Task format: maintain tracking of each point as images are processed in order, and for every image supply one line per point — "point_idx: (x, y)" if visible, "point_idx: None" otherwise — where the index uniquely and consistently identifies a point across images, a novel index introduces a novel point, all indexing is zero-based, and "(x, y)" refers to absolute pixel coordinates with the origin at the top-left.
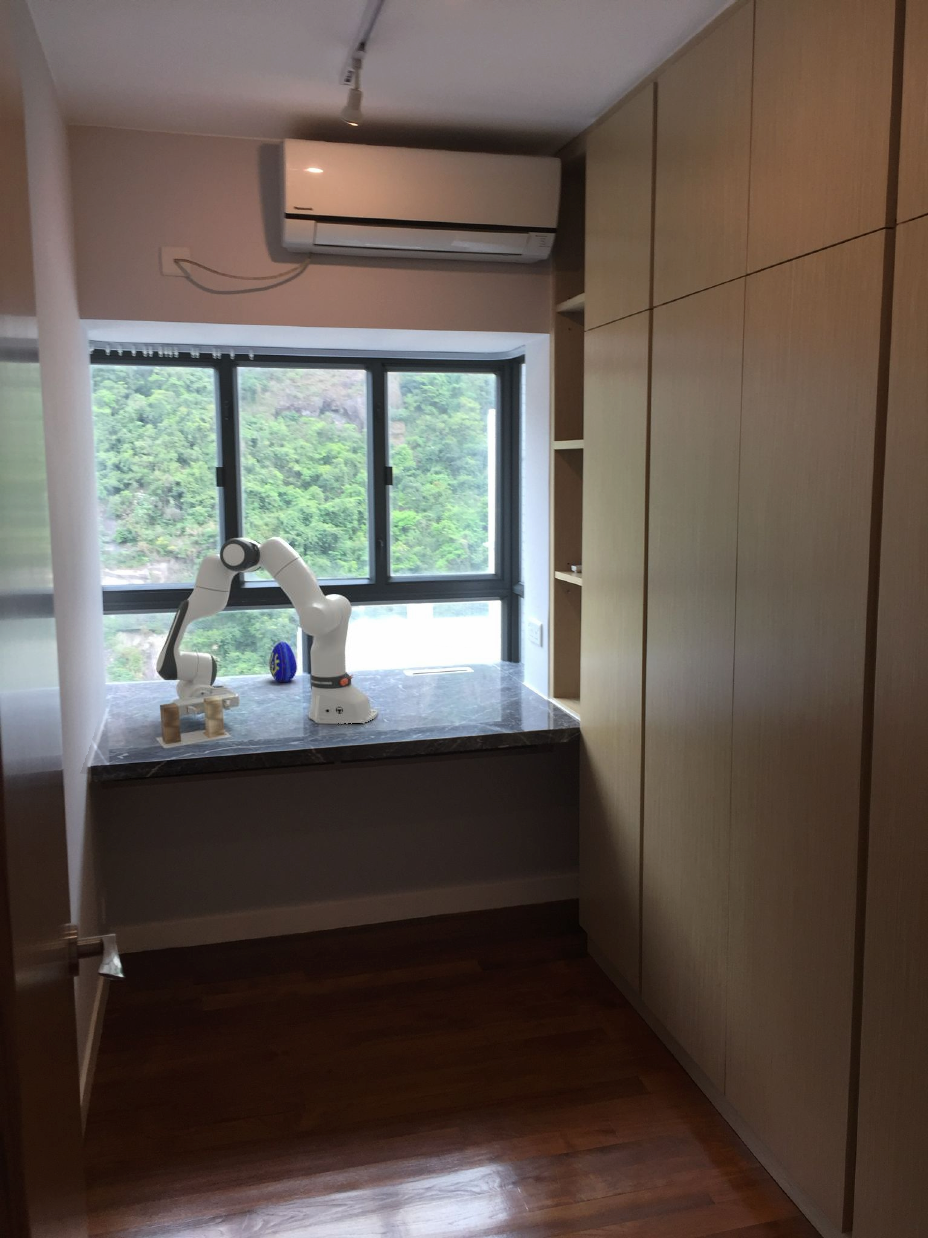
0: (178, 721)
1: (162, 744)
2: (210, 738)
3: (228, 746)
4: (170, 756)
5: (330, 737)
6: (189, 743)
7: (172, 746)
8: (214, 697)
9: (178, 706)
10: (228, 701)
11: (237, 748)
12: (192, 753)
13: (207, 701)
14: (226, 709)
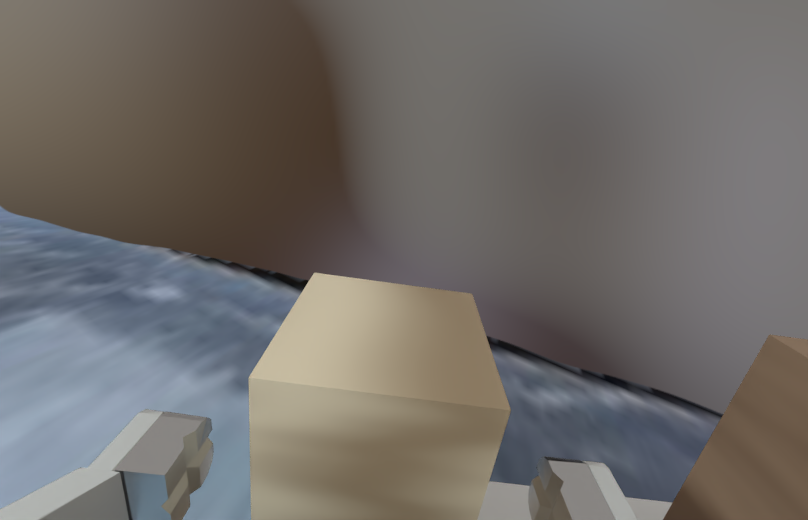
0: (711, 453)
1: None
2: None
3: None
4: (630, 418)
5: (38, 269)
6: None
7: (665, 508)
8: (339, 350)
9: (770, 336)
10: (8, 517)
11: None
12: (533, 397)
13: (472, 296)
14: (202, 456)
